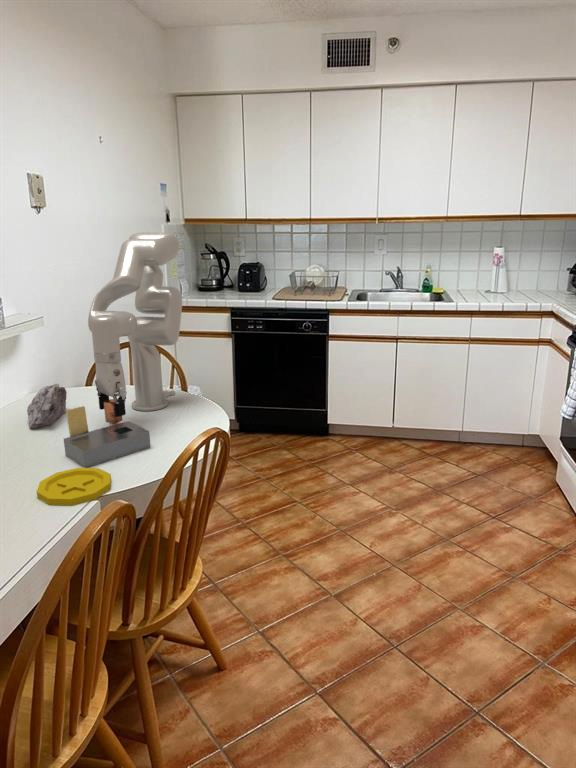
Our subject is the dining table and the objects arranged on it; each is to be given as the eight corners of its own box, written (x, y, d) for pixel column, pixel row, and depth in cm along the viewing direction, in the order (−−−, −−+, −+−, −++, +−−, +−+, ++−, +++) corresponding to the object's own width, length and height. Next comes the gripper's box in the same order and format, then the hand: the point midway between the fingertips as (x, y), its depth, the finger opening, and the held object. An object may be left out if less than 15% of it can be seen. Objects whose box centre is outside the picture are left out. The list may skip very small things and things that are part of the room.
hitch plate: (129, 436, 174) (128, 421, 172) (150, 447, 165) (149, 431, 164) (65, 455, 160) (63, 438, 159) (84, 468, 152) (82, 450, 151)
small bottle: (118, 429, 179) (115, 397, 176) (126, 433, 176) (123, 401, 173) (104, 433, 176) (100, 401, 173) (111, 438, 172) (108, 405, 169)
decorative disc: (86, 468, 152) (85, 462, 152) (125, 487, 142) (124, 480, 141) (25, 491, 140) (24, 484, 139) (63, 514, 129) (62, 506, 129)
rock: (44, 438, 179) (59, 396, 175) (12, 427, 177) (27, 384, 174) (66, 416, 200) (79, 377, 197) (38, 405, 198) (51, 367, 195)
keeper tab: (71, 437, 158) (70, 437, 159) (88, 433, 162) (87, 432, 162) (67, 410, 156) (65, 410, 157) (84, 406, 160) (83, 406, 161)
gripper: (133, 359, 165) (138, 415, 170) (105, 350, 177) (110, 403, 182) (110, 364, 160) (115, 421, 165) (82, 354, 172) (87, 408, 177)
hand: (112, 412), depth 173 cm, fingers open, 9 cm apart
